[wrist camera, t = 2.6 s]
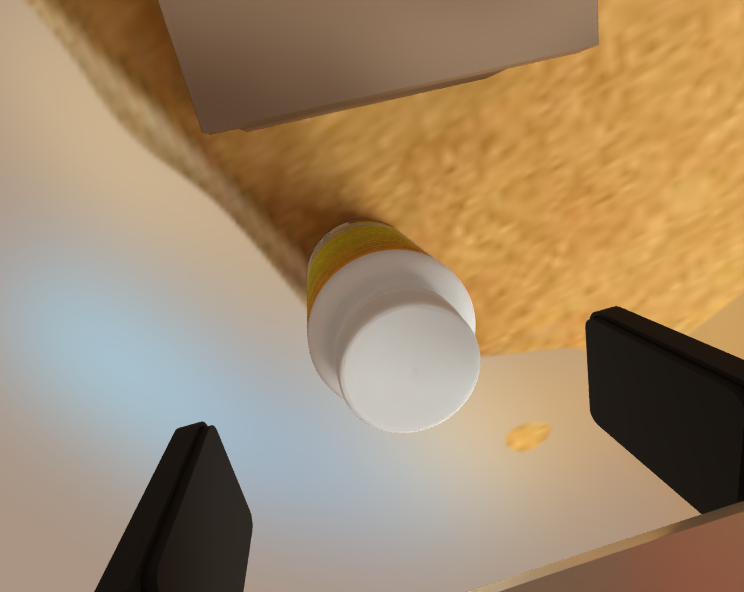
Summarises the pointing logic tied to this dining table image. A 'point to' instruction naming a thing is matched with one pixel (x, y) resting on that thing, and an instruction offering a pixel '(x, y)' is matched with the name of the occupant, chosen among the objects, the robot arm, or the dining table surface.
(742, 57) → the dining table surface
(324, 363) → the supplement bottle
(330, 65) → the walnut box
